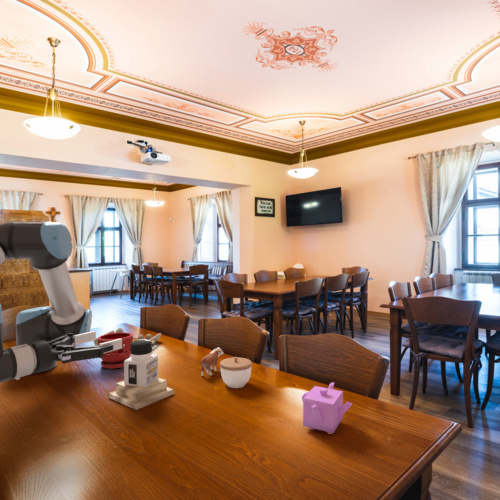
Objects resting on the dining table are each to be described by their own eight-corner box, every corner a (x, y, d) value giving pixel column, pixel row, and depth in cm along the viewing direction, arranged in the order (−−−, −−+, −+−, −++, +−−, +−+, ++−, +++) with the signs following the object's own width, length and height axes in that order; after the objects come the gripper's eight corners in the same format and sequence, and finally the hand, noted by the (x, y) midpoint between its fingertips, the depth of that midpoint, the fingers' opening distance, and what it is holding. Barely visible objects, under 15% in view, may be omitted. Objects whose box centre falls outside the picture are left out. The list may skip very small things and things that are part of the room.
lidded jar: (258, 384, 124) (258, 357, 124) (235, 393, 116) (235, 364, 116) (236, 376, 131) (236, 350, 131) (213, 385, 123) (213, 357, 123)
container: (146, 387, 110) (146, 344, 109) (123, 385, 111) (123, 343, 111) (158, 378, 117) (158, 338, 117) (136, 376, 119) (136, 337, 119)
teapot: (342, 450, 84) (342, 408, 84) (289, 436, 90) (289, 397, 90) (359, 418, 100) (359, 382, 99) (313, 407, 106) (313, 374, 106)
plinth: (108, 397, 113) (108, 383, 113) (146, 384, 124) (146, 370, 124) (136, 410, 105) (136, 394, 105) (173, 394, 116) (173, 380, 116)
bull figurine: (225, 367, 141) (225, 346, 141) (207, 379, 129) (207, 356, 129) (215, 365, 143) (215, 345, 143) (196, 377, 131) (196, 354, 130)
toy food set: (93, 351, 164) (93, 334, 164) (113, 340, 182) (113, 325, 182) (146, 353, 161) (146, 335, 161) (161, 342, 180) (161, 326, 179)
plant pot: (138, 360, 150) (138, 331, 150) (124, 371, 137) (124, 339, 137) (108, 359, 151) (107, 330, 151) (91, 370, 138) (91, 339, 138)
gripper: (10, 362, 98) (85, 344, 115) (54, 386, 83) (133, 360, 100) (9, 335, 98) (85, 320, 115) (53, 353, 83) (133, 333, 100)
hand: (107, 339), depth 107 cm, fingers open, 13 cm apart
